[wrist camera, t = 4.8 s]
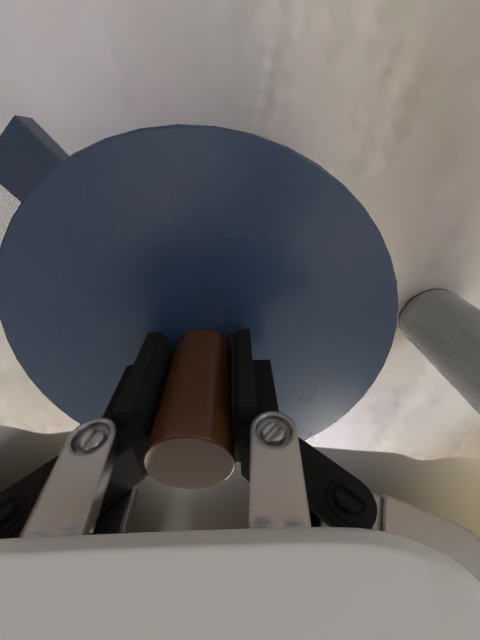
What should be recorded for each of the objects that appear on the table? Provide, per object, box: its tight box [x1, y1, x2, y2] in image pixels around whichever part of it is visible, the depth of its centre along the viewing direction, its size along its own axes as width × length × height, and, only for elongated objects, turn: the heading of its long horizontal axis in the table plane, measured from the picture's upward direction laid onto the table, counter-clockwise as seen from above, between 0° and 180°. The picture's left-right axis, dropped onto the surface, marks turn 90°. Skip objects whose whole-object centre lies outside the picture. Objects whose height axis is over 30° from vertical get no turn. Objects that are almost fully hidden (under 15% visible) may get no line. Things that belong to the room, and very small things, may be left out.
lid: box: [0, 124, 398, 489], centre depth 10 cm, size 16×16×6 cm
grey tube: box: [399, 289, 480, 414], centre depth 18 cm, size 4×4×10 cm
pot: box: [0, 116, 70, 202], centre depth 17 cm, size 15×21×8 cm
